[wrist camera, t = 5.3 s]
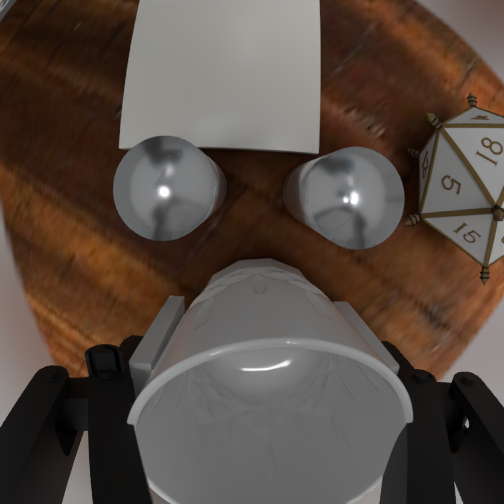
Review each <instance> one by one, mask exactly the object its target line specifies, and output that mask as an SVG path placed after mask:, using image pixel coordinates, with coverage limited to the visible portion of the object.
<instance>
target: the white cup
mask: <svg viewBox="0 0 504 504" xmlns="http://www.w3.org/2000/svg"><path fill="white" fill-rule="evenodd" d="M411 422H413V410H412V404H411V400H410V397H409V395H408V392H407V390H406V388H405V387H404V385H403V383H402V382H401V381H400V379H399V378H398V377H397V376H396V374H395V373H394V372H393V371H392V370H391V369H390V367H389V366H388V365H387V364H386V363H385V362H384V361H383V359H382V358H381V357H380V356H379V355H378V354H377V352H376V351H375V350H374V349H373V348H372V347H371V346H370V344H369V343H368V342H367V341H366V340H365V339H364V337H363V336H362V335H361V334H360V333H359V332H358V330H357V329H356V328H355V327H354V326H353V325H352V324H351V323H350V322H349V320H348V319H347V318H346V317H345V316H344V315H343V314H342V312H341V311H340V310H339V309H338V308H337V307H336V305H335V304H334V303H333V302H332V301H331V300H330V299H329V298H328V297H327V296H326V295H325V294H324V293H323V292H322V291H321V290H320V289H319V288H317V287H316V286H314V285H313V284H311V283H310V282H309V281H308V280H307V278H306V277H305V276H304V275H303V274H302V273H301V272H300V271H299V270H298V269H297V268H294V267H291V266H289V265H286V264H284V263H281V262H279V261H276V260H274V259H271V258H265V259H250V260H239V261H237V262H235V263H234V264H232V265H230V266H228V267H226V268H225V269H223V270H221V271H219V272H217V273H216V274H214V275H213V276H212V277H211V279H210V280H209V282H208V283H207V284H206V286H205V287H204V289H203V290H202V292H201V293H200V295H199V296H198V297H197V298H196V299H195V300H194V301H193V302H192V304H191V305H190V307H189V309H188V310H187V311H186V313H185V314H184V316H183V317H182V319H181V321H180V322H179V324H178V326H177V327H176V329H175V331H174V332H173V334H172V336H171V338H170V340H169V341H168V343H167V345H166V347H165V349H164V350H163V352H162V354H161V356H160V358H159V359H158V361H157V363H156V365H155V366H154V368H153V370H152V372H151V374H150V375H149V377H148V379H147V381H146V383H145V384H144V386H143V388H142V390H141V391H140V393H139V395H138V397H137V399H136V400H135V402H134V404H133V406H132V408H131V410H130V413H129V416H128V419H127V423H128V424H131V425H134V429H135V433H136V437H137V441H138V445H139V450H140V454H141V458H142V462H143V466H144V469H145V473H146V477H147V481H148V484H149V487H150V488H151V489H152V490H153V491H155V492H156V493H157V494H158V495H159V496H161V497H162V498H163V499H165V500H166V501H168V502H169V503H171V504H353V503H354V502H356V501H357V500H359V499H361V498H362V497H364V496H365V495H367V494H368V493H369V492H371V491H372V490H373V489H374V488H375V487H377V486H378V485H379V484H380V483H381V482H382V478H383V474H384V472H385V469H386V466H387V463H388V460H389V457H390V454H391V452H392V449H393V447H394V444H395V442H396V440H397V438H398V436H399V434H400V432H401V431H402V430H403V428H404V427H405V425H406V423H411Z"/></svg>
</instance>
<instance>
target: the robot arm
mask: <svg viewBox="0 0 504 504" xmlns="http://www.w3.org/2000/svg"><path fill="white" fill-rule="evenodd" d="M334 304H335V305H336V307H337V308H338V309H339V310H340V311H341V312H342V314H343V315H344V316H345V317H346V318H347V319H348V320H349V322H350V323H351V324H352V325H353V326H354V327H355V328H356V329H357V330H358V332H359V333H360V334H361V335H362V336H363V337H364V339H365V340H366V341H367V342H368V343H369V344H370V346H371V347H372V348H373V349H374V350H375V351H376V352H377V354H378V355H379V356H380V357H381V358H382V359H383V361H384V362H385V363H386V364H387V365H388V366H389V367H390V369H391V370H392V371H393V372H394V373H395V374H396V376H397V377H398V378H399V379H400V381H401V382H402V383H403V385H404V387H405V388H406V390H407V392H408V395H409V397H410V400H411V404H412V410H413V422H411V423H406V425H405V427H404V428H403V430H402V431H401V432H400V434H399V436H398V438H397V440H396V442H395V444H394V447H393V449H392V452H391V454H390V457H389V460H388V463H387V466H386V469H385V472H384V474H383V478H382V487H381V496H380V503H379V504H456V496H455V486H454V481H455V484H456V486H457V489H458V491H459V493H460V496H461V499H462V501H463V504H504V407H503V406H502V405H501V403H500V402H499V401H498V399H497V398H496V397H495V396H494V394H493V393H492V392H491V391H490V389H489V388H488V387H487V386H486V384H485V383H484V382H483V381H482V380H481V378H479V377H478V376H477V375H475V374H473V373H471V372H470V373H469V372H458V373H456V374H455V375H454V377H453V380H452V383H446V382H436V379H435V377H434V375H432V374H431V373H430V372H427V371H425V370H421V369H414V367H413V366H412V365H411V364H410V363H409V362H408V360H407V359H406V358H404V356H403V355H402V353H400V351H399V350H398V349H397V348H396V346H394V345H393V344H391V343H389V342H387V341H381V342H380V341H379V339H378V338H377V337H376V336H375V335H374V333H373V332H372V331H371V330H370V328H369V327H368V326H367V325H366V323H365V322H364V321H363V320H362V319H361V317H360V316H359V315H358V314H357V313H356V311H355V310H354V309H353V308H352V307H351V305H350V304H349V303H348V302H334ZM184 314H185V307H184V296H172V295H170V296H169V297H168V299H167V300H166V302H165V304H164V305H163V307H162V308H161V310H160V311H159V313H158V315H157V316H156V318H155V319H154V321H153V323H152V324H151V326H150V327H149V329H148V331H147V332H146V334H145V336H135V335H131V336H130V337H128V338H126V339H125V340H123V342H122V343H121V345H120V347H117V346H114V345H111V344H101V345H96V346H93V347H91V348H89V349H88V350H87V351H86V353H85V358H86V363H87V368H88V373H89V377H83V378H70V377H69V373H68V371H67V369H65V368H64V367H61V366H53V365H51V366H46V367H44V368H42V369H40V370H39V371H38V372H37V373H36V374H35V375H34V377H33V378H32V380H31V381H30V383H29V384H28V385H27V387H26V388H25V390H24V391H23V393H22V394H21V396H20V397H19V399H18V400H17V402H16V403H15V405H14V407H13V408H12V410H11V411H10V413H9V414H8V416H7V418H6V419H5V421H4V422H3V424H2V426H1V427H0V504H62V501H63V497H64V493H65V490H66V486H67V483H68V480H69V476H70V473H71V470H72V466H73V463H74V460H75V457H76V454H77V450H78V448H79V445H80V442H81V439H82V436H83V432H84V431H88V440H89V441H88V443H89V463H90V477H91V488H92V499H93V504H154V502H153V499H152V496H151V492H150V488H149V484H148V481H147V477H146V473H145V469H144V466H143V462H142V458H141V454H140V450H139V445H138V441H137V437H136V433H135V429H134V425H131V424H128V423H127V419H128V416H129V413H130V410H131V408H132V406H133V404H134V402H135V400H136V399H137V397H138V395H139V393H140V391H141V390H142V388H143V386H144V384H145V383H146V381H147V379H148V377H149V375H150V374H151V372H152V370H153V368H154V366H155V365H156V363H157V361H158V359H159V358H160V356H161V354H162V352H163V350H164V349H165V347H166V345H167V343H168V341H169V340H170V338H171V336H172V334H173V332H174V331H175V329H176V327H177V326H178V324H179V322H180V321H181V319H182V317H183V316H184ZM467 419H468V421H469V427H468V428H467V427H466V426H465V423H466V421H467Z"/></svg>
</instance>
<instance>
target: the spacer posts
mask: <svg viewBox="0 0 504 504" xmlns="http://www.w3.org/2000/svg"><path fill="white" fill-rule="evenodd" d="M226 193H227V181H226V177H225V175H224V173H223V171H222V169H221V168H220V167H219V166H218V165H217V164H216V163H215V162H214V161H213V160H211V159H210V158H209V157H208V156H207V155H205V154H204V153H203V152H202V151H201V150H200V149H198V148H197V147H196V146H195V145H193V144H192V143H190V142H188V141H187V140H185V139H182V138H179V137H175V136H165V135H164V136H155V137H151V138H148V139H146V140H144V141H142V142H140V143H138V144H137V145H135V146H134V147H133V148H132V149H130V150H129V151H128V152H127V154H126V155H125V156H124V157H123V159H122V160H121V162H120V164H119V166H118V168H117V171H116V174H115V178H114V184H113V196H114V202H115V205H116V208H117V211H118V213H119V215H120V217H121V218H122V220H123V221H124V222H125V224H126V225H127V226H128V227H129V228H130V229H131V230H133V231H134V232H135V233H137V234H139V235H140V236H142V237H145V238H147V239H151V240H156V241H169V240H174V239H178V238H181V237H183V236H185V235H187V234H189V233H190V232H192V231H193V230H194V229H195V228H197V227H198V226H199V225H200V224H201V223H203V222H204V221H205V220H206V219H207V218H208V217H210V216H211V215H212V214H213V213H214V212H216V211H217V210H218V209H219V208H220V206H221V205H222V203H223V202H224V200H225V197H226ZM282 196H283V201H284V204H285V207H286V208H287V210H288V212H289V213H290V214H291V215H292V216H293V217H294V218H295V219H297V220H299V221H300V222H302V223H303V224H305V225H307V226H308V227H310V228H311V229H313V230H315V231H316V232H318V233H319V234H321V235H323V236H324V237H326V238H327V239H329V240H330V241H332V242H334V243H335V244H337V245H339V246H342V247H344V248H348V249H355V250H356V249H367V248H371V247H374V246H376V245H378V244H380V243H381V242H383V241H384V240H386V239H387V238H388V237H389V236H390V235H391V234H392V233H393V231H394V230H395V229H396V227H397V225H398V224H399V222H400V219H401V217H402V213H403V209H404V189H403V184H402V181H401V178H400V176H399V174H398V172H397V170H396V169H395V167H394V166H393V165H392V164H391V162H390V161H389V160H388V159H387V158H385V157H384V156H383V155H381V154H380V153H378V152H376V151H374V150H371V149H369V148H364V147H348V148H344V149H341V150H338V151H336V152H333V153H330V154H328V155H325V156H322V157H320V158H317V159H314V160H312V161H309V162H307V163H304V164H302V165H299V166H297V167H296V168H294V169H293V170H292V171H291V172H290V173H289V174H288V176H287V178H286V179H285V182H284V185H283V191H282Z"/></svg>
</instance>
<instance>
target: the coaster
mask: <svg viewBox="0 0 504 504" xmlns="http://www.w3.org/2000/svg"><path fill="white" fill-rule="evenodd" d="M319 129H320V5H319V0H140V2H139V7H138V11H137V16H136V21H135V26H134V31H133V36H132V42H131V48H130V54H129V60H128V66H127V73H126V81H125V88H124V97H123V106H122V116H121V127H120V139H119V149H123V150H130V149H132V148H133V147H134V146H135V145H137V144H138V143H140V142H142V141H144V140H146V139H148V138H151V137H155V136H164V135H165V136H175V137H179V138H182V139H185V140H187V141H188V142H190V143H192V144H193V145H195V146H196V147H197V148H198V149H228V150H252V151H270V152H285V153H298V154H310V155H316V154H319Z"/></svg>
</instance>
